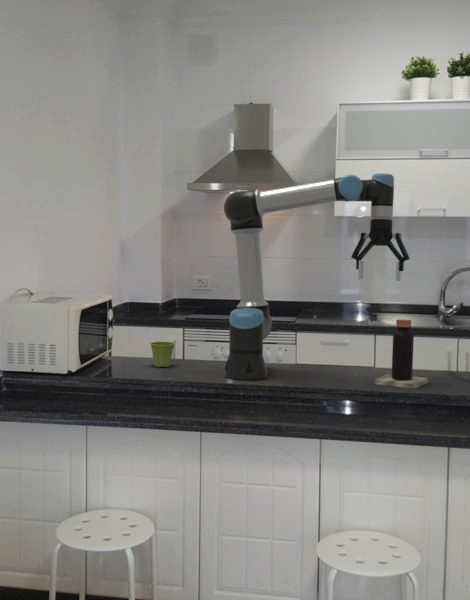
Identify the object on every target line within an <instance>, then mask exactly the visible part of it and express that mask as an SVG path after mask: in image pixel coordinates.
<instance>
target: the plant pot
mask: <svg viewBox="0 0 470 600" xmlns="http://www.w3.org/2000/svg"><path fill="white" fill-rule="evenodd" d="M149 345H150V347H151V352H152V361H153V366H154V367H156V368H162V367H163V368H169V367H171V363H172V357H173V351H174V349H175V348H174V347H175V345H176V342H172V341H152V342H150V343H149Z"/></svg>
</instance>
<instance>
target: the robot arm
mask: <svg viewBox="0 0 470 600" xmlns="http://www.w3.org/2000/svg"><path fill="white" fill-rule="evenodd" d="M394 192H395V176H393V174H390V173H374V174H372V176H371V179H361V178H360V177H359V176H357V175H355V174H347V175H344V176H343V177H341V176H340V177H337V178H331V179H325V180H319V181H314V182H313V181H312V182H309V183H302V184H297V185H292V186H286V187H280V188H274V189H268V190H262V191H261V190H260V189H258V188H256V189H249V190H239V191H234V192H232V193H230V194H229V195H228V196H227V197H226V198H225V200H224V204H223V212H224V214H225V217H226V218H227V220H229V221H230V231H231V232H230V233H232V234H233V235H234V236H235V244H236V257H237V259H236V261H237V271H238V283H239V297H240V300H239V301H240V302H239V303H238V304H237V305H236V308H234V309H233V310H232V311H230V316H229V343H228V344H229V349H228V350H229V353H228V357H227V360H226V363H225V366H224V369H223V377H225V378H228V379H230V380H231V379H232V380H239V381H240V380H243V381H253V380H256V381H258V380H262V379H266V378H268V369H267V364H266V361H265V358H264V354H263V351H264V350H263V349H264V340H265V339H267V338H268V336H269V335H270V333H271V331H272V329H273V320H272V317H271V315H270V306H269V303H268V302H267V301H266V300H265V294H264V282H263V281H264V280H263V267H262V256H261V243H260V241H261V240H260V233H261V232H262V231H263V230H264V227H263V217H264V215H265V214H270V213H277V212H282V211H288V210H292V209H293V210H294V209H299V208H305V207H310V206H316V205H322V204H329V203H334V202H347V203H348V202H370V218H371V219H370V222H369V223H370V225H369V227H370V228H369V233H367V232H361V233H360V238H359V241H358V242H357V244H356V246H355V248H354V250H353V252H352V254H351V259H353V260H355V261H356V267H355V268H356V270H358V273H357V274H358V277H357V278H358V280H363V279H364V260H363V258H364V257H365V256H366V255H367V254H368V253H369V252H370V250H371V249H372V248H373V247H375V246H379V247H380V246H382V247H384V246H386V247H388V249H389V250H390V252H392V254H393V255H394V256H395V258H396V259H397V260H398V261H396V263H395V264H396V268H395V282H400V281H401V275H402V273H401V272H404V269H405V268H404V267H405V262H406V261H410V256H409V254H408V251H407V248H406V246H405V244H404V242H403V240H402V233H400V232H396V233H393V220H392V218H393V214H394V195H395V193H394ZM368 238H369V240H370V241H369V242H368V243H367V245H366V246H365V247H364V248H363V246H364V245H365V242H366V241H367V239H368ZM393 238H394V240H396V243H397V246H398V247H399V249H397V248H396V247H395V245H394V244H393V242H392V241H391V240H393ZM362 248H363V249H362ZM361 250H362V251H361ZM399 250H400V252H399Z"/></svg>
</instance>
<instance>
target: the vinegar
mask: <svg viewBox="0 0 470 600" xmlns="http://www.w3.org/2000/svg"><path fill="white" fill-rule="evenodd" d="M395 322H396V323H395V325H396V326H395V327H396V331H395V332H394V333H393V334H392V350H391V351H392V355H391V356H392V358H391V374H392V379H395V380H403V381H406V380H411V379H412V376H413V366H414V365H413V364H414V363H413V362H414V361H413V360H414V341H415V340H414V339H415V338H414V334H413V332H411V328H412V320H411V319H405V318H404V319H401V318H399V319H396V321H395Z"/></svg>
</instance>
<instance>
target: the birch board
mask: <svg viewBox="0 0 470 600" xmlns="http://www.w3.org/2000/svg"><path fill="white" fill-rule="evenodd" d="M428 383H429V377H420V376H413V375H412V379H411V380H406V381H403V380H395V379H392V373H387V374H385V375H382V376H380V377H378V378H376V379H374V384H375V385H379V386H387V387H388V386H389V387H395V388H397V387H398V388H406V389H413V390H417V389H419V388H421V387H423V386H425V385H426V384H428Z"/></svg>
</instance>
